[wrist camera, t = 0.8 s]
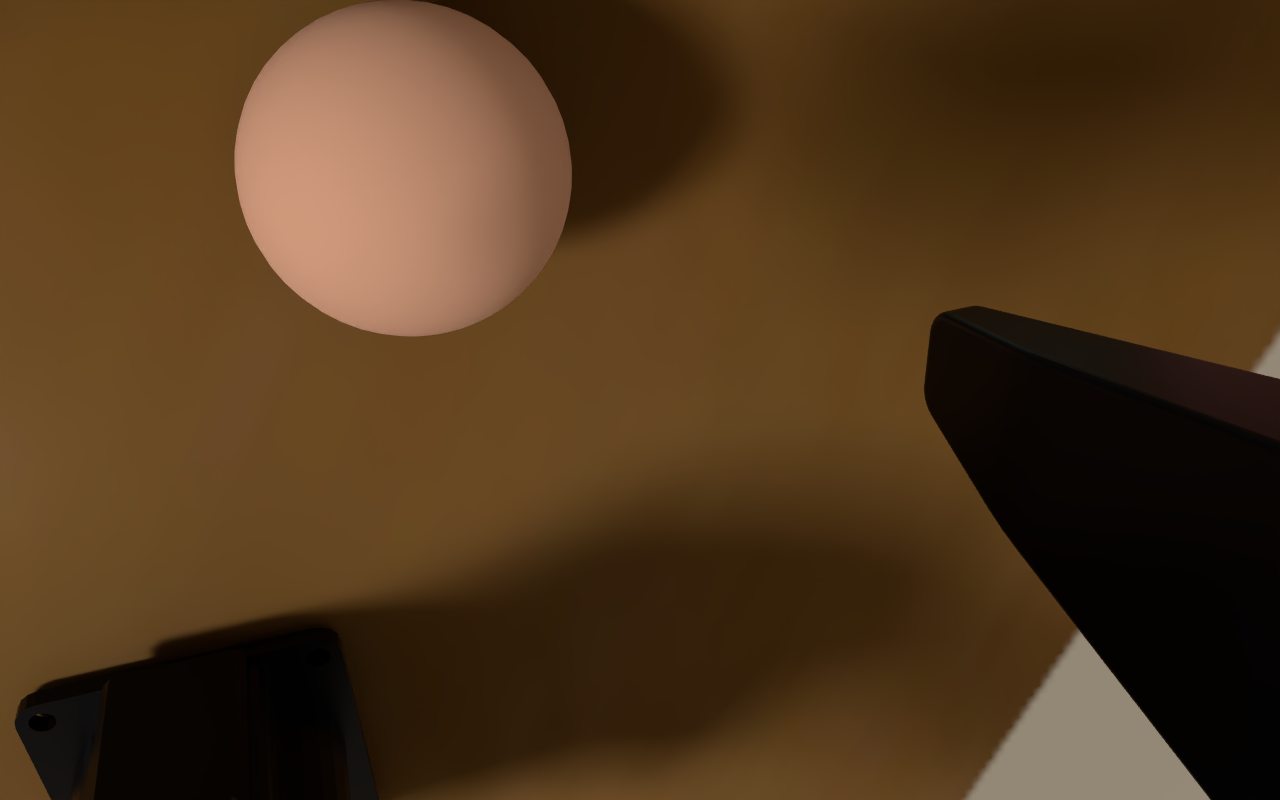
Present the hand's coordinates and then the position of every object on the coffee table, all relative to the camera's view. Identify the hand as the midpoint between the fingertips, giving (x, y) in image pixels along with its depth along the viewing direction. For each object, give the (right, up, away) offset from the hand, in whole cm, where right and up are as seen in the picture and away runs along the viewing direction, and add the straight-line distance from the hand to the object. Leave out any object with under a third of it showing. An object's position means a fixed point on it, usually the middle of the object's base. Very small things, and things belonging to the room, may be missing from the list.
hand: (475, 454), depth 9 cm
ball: (-3, +5, +9) cm, 11 cm away
